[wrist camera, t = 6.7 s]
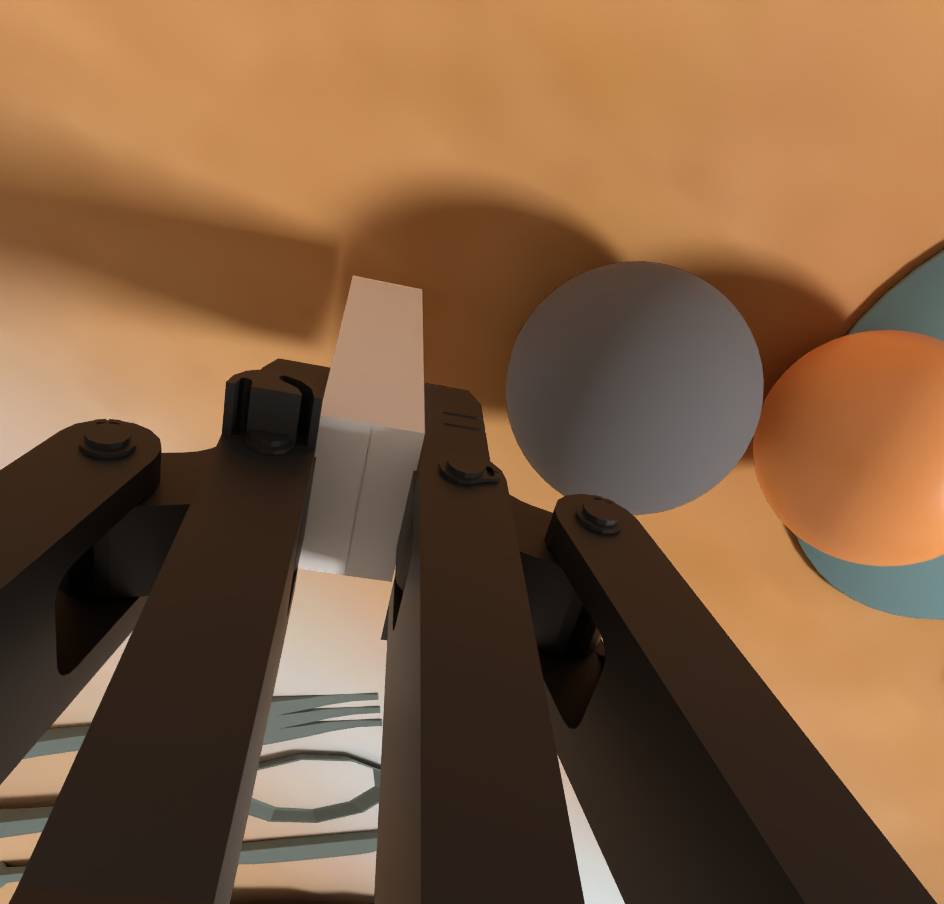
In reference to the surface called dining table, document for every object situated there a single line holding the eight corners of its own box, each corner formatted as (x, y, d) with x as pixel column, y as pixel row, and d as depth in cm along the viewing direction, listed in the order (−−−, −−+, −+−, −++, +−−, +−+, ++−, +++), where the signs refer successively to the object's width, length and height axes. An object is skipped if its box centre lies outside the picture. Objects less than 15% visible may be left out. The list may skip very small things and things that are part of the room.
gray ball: (476, 541, 17) (578, 463, 22) (731, 572, 14) (789, 474, 19) (441, 289, 16) (559, 260, 20) (718, 265, 13) (785, 237, 17)
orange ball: (791, 504, 23) (943, 636, 18) (668, 444, 20) (815, 586, 16) (922, 346, 21) (1123, 452, 17) (811, 256, 18) (1018, 356, 14)
